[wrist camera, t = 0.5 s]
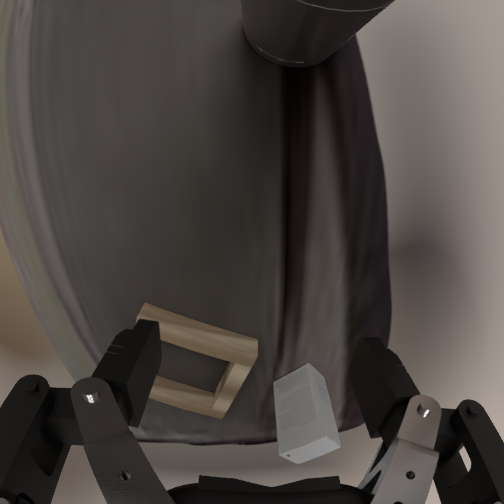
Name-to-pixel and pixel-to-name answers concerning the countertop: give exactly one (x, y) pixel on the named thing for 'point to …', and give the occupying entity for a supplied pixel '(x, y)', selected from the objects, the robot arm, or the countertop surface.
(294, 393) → the skincare box
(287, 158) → the countertop surface
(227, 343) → the birch stand
